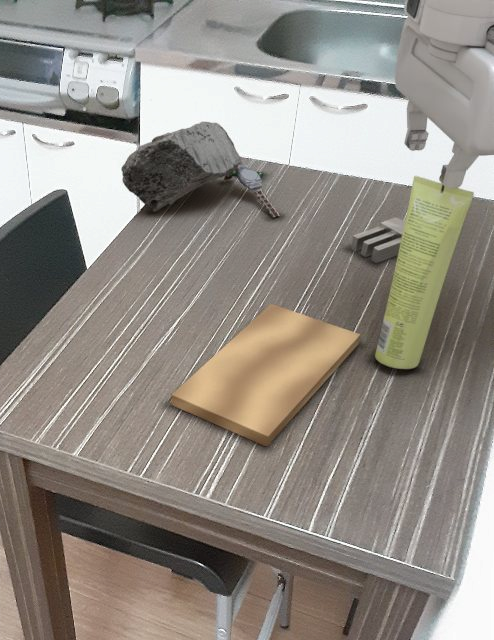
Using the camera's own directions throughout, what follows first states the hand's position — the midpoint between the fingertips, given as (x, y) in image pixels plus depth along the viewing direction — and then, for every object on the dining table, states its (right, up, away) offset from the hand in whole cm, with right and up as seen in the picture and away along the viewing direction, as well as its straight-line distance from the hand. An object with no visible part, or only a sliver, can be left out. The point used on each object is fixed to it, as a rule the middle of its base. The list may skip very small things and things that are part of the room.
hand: (430, 165), depth 78 cm
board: (-15, -20, +8) cm, 27 cm away
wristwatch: (-12, +12, +39) cm, 43 cm away
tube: (0, -19, +8) cm, 21 cm away
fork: (+8, +2, +29) cm, 30 cm away
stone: (-30, +19, +38) cm, 52 cm away
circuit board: (-12, +19, +46) cm, 52 cm away
